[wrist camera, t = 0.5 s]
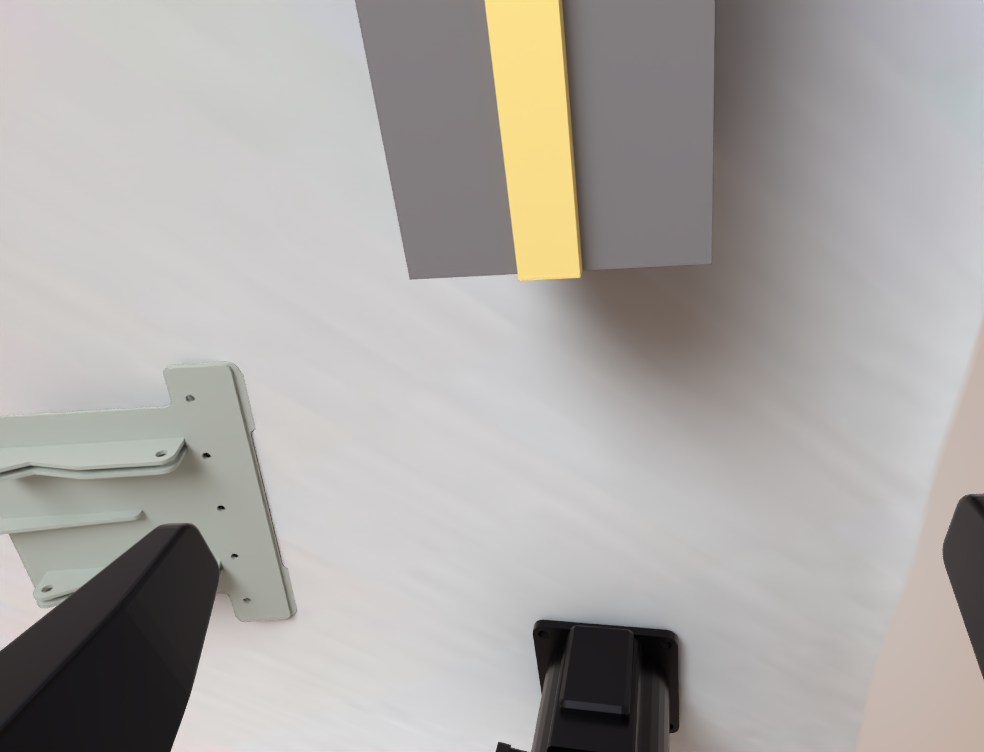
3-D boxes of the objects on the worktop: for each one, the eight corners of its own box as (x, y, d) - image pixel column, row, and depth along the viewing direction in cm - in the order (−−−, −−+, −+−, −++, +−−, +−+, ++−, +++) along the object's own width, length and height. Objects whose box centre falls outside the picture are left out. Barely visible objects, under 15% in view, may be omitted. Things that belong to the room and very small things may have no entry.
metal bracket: (20, 662, 34) (-118, 403, 27) (76, 577, 39) (-28, 340, 32) (311, 642, 35) (251, 381, 28) (328, 560, 40) (281, 322, 33)
